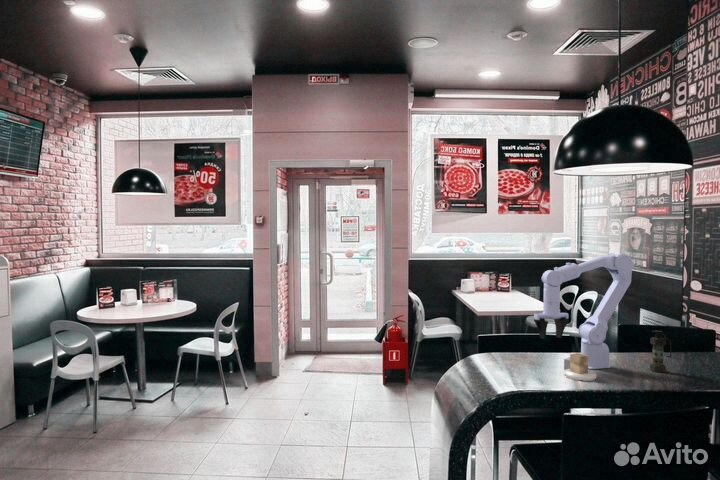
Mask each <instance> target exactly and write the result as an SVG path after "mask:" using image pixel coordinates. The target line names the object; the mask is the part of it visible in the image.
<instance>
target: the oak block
mask: <svg viewBox="0 0 720 480" xmlns="http://www.w3.org/2000/svg"><path fill="white" fill-rule="evenodd" d="M569 358H570V371H571V372H574V373H577V374H585V373H588V371H589V368H588V356H587V355H584V354H581V352H580V353H579V352H577V353H576V352H575V353H570V355H569Z"/></svg>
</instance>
